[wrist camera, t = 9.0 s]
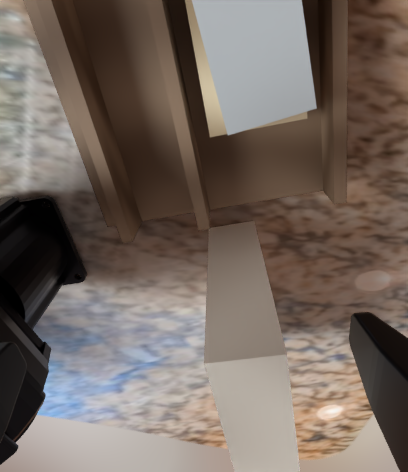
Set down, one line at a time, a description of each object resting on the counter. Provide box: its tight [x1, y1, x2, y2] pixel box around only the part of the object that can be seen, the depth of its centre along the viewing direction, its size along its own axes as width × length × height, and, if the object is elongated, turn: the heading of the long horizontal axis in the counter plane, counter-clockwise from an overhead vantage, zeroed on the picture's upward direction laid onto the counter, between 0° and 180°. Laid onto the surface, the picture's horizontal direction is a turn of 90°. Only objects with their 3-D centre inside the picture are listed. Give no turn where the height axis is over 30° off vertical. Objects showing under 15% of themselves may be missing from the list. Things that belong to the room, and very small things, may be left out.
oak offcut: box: [185, 0, 307, 137], centre depth 14 cm, size 9×4×2 cm, turn 11°
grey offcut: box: [192, 0, 317, 135], centre depth 13 cm, size 7×4×2 cm, turn 17°
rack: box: [23, 0, 348, 243], centre depth 15 cm, size 18×14×4 cm
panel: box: [204, 221, 300, 472], centre depth 19 cm, size 10×3×11 cm, turn 11°
